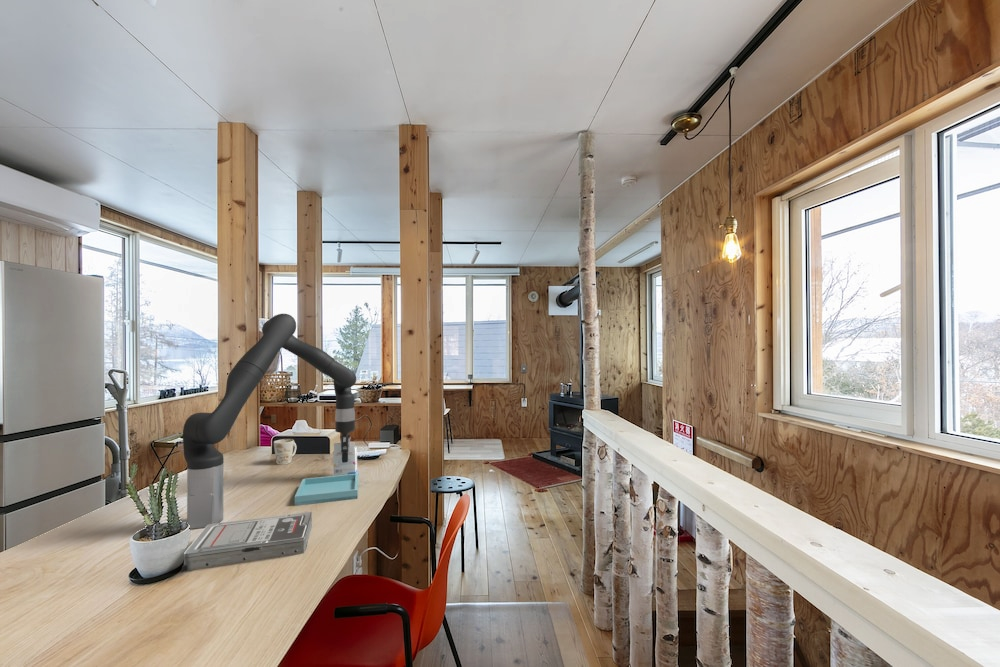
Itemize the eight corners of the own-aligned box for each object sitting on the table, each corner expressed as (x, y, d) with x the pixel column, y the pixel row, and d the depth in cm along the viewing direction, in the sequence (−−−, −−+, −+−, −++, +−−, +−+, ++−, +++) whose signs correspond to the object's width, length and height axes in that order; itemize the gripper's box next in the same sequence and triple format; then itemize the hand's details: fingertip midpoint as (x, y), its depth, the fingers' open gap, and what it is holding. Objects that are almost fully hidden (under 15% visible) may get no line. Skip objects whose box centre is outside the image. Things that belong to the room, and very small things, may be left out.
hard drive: (207, 540, 121) (207, 524, 121) (312, 526, 129) (312, 511, 130) (181, 573, 104) (182, 554, 104) (304, 555, 112) (304, 537, 112)
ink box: (357, 475, 178) (357, 439, 178) (355, 479, 173) (355, 442, 173) (335, 476, 176) (335, 440, 177) (333, 480, 171) (333, 443, 172)
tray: (357, 498, 151) (357, 489, 151) (294, 505, 145) (294, 496, 145) (358, 481, 170) (358, 473, 170) (302, 486, 164) (302, 478, 164)
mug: (269, 465, 194) (269, 442, 195) (287, 457, 207) (287, 436, 207) (286, 465, 193) (286, 443, 193) (303, 458, 205) (303, 437, 206)
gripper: (354, 421, 169) (354, 463, 169) (355, 415, 183) (355, 454, 183) (334, 423, 167) (334, 465, 167) (336, 416, 181) (336, 456, 180)
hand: (345, 459), depth 175 cm, fingers open, 8 cm apart
